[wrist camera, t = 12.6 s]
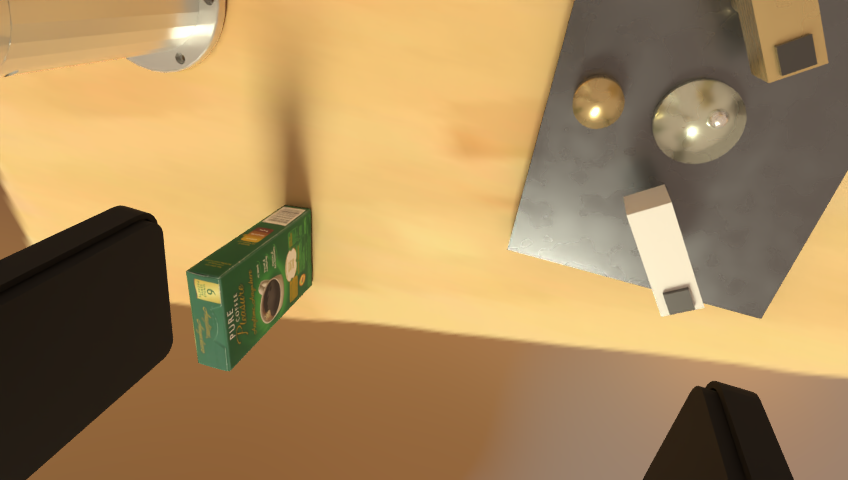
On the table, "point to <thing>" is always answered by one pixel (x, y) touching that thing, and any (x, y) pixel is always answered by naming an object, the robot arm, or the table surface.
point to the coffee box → (249, 285)
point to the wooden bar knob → (781, 36)
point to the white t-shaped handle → (663, 251)
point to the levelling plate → (684, 146)
